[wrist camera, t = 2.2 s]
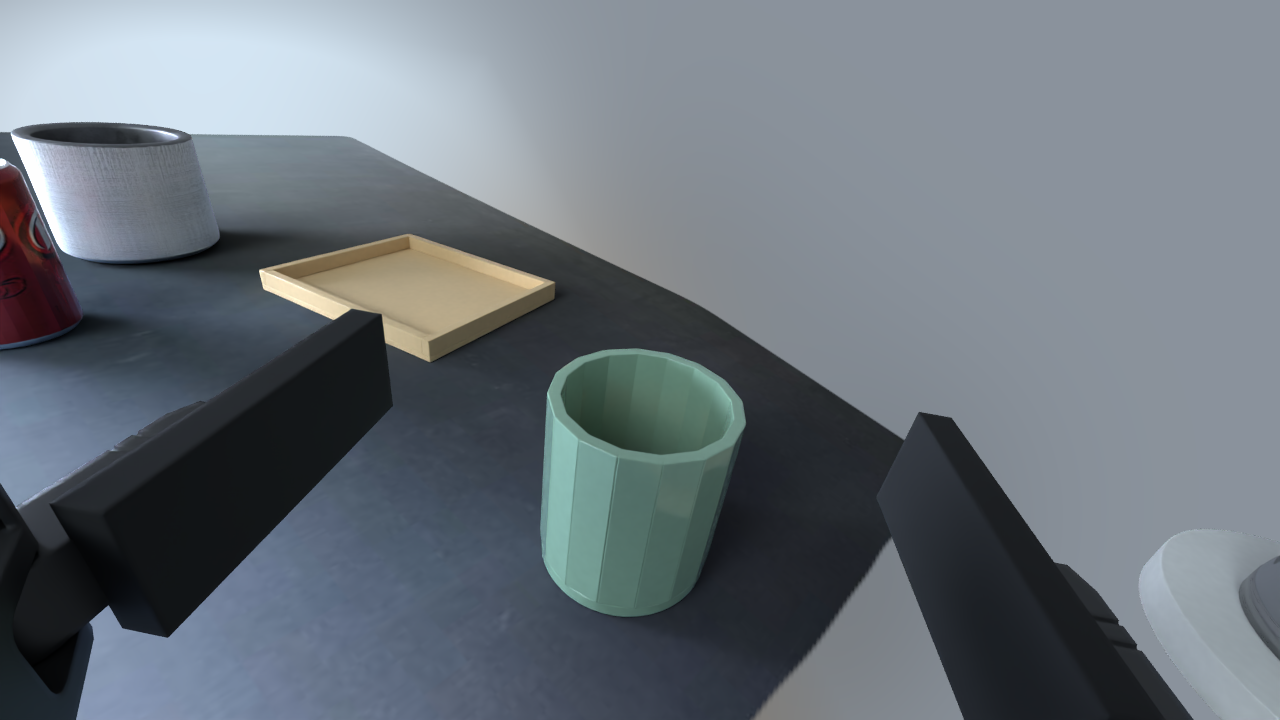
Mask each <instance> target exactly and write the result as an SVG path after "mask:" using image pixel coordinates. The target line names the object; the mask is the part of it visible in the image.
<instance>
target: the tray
mask: <svg viewBox="0 0 1280 720" xmlns="http://www.w3.org/2000/svg"><path fill="white" fill-rule="evenodd" d="M259 272H260V276H261V280H262V284H263V289H265V290H267V291H269V292H272V293H274V294H276V295H278V296H281V297H283V298H285V299H287V300H290V301H292V302H294V303H296V304H299V305H301V306H303V307H306V308H308V309H310V310H312V311H315V312H317V313H319V314H321V315H324V316H326V317H328V318H331V319H333V320H335V319H336V318H338V317H339V316H341V315H343V314H344V313H346V312H347V311H349V310H350V309H357V310H362V311H368V312H373V313H379V314H382V319H383V328H384V336H385V343H387V344H390V345H392V346H394V347H396V348H399V349H401V350H403V351H405V352H408V353H410V354H412V355H415V356H417V357H419V358H421V359H424V360H426V361H428V362H432V361H434V360H436V359H438V358H440V357H442V356H444V355H446V354H448V353H450V352H452V351H454V350H455V349H457V348H459V347H461V346H463V345H465V344H467V343H469V342H471V341H473V340H475V339H477V338H479V337H481V336H483V335H485V334H487V333H489V332H491V331H493V330H495V329H497V328H499V327H501V326H503V325H504V324H506V323H508V322H510V321H512V320H514V319H516V318H518V317H520V316H522V315H524V314H526V313H528V312H530V311H532V310H534V309H536V308H538V307H540V306H542V305H544V304H546V303H548V302H550V301H552V300H553V299H554V296H555V282H553V281H549V280H547V279H544V278H541V277H538V276H535V275H532V274H529V273H526V272H523V271H520V270H517V269H514V268H511V267H508V266H505V265H502V264H499V263H496V262H493V261H490V260H487V259H484V258H481V257H478V256H475V255H472V254H469V253H466V252H463V251H460V250H457V249H454V248H451V247H448V246H445V245H442V244H439V243H436V242H433V241H430V240H427V239H424V238H421V237H418V236H415V235H412V234H405V235H401V236H397V237H393V238H389V239H385V240H380V241H376V242H372V243H368V244H364V245H360V246H356V247H351V248H347V249H343V250H339V251H335V252H331V253H326V254H322V255H318V256H314V257H310V258H306V259H302V260H297V261H293V262H289V263H285V264H281V265H277V266H272V267H268V268H264V269H260V270H259Z"/></svg>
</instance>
